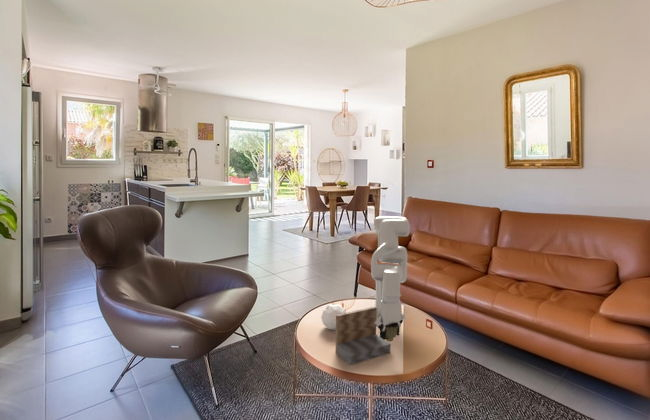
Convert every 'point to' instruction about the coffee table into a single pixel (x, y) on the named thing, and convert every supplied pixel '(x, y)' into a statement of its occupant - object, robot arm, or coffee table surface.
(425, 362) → the coffee table surface
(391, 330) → the cup
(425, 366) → the coffee table surface
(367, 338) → the board
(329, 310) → the geodesic sphere
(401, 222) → the robot arm
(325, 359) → the coffee table surface
